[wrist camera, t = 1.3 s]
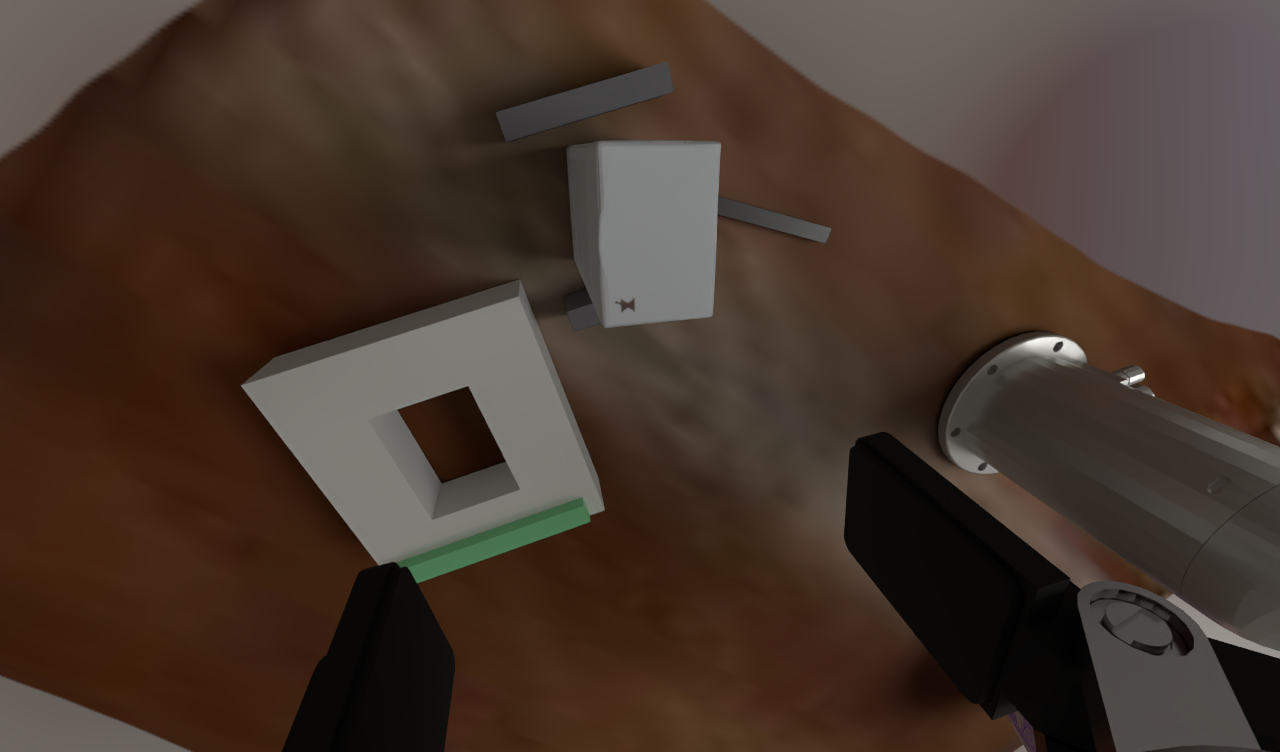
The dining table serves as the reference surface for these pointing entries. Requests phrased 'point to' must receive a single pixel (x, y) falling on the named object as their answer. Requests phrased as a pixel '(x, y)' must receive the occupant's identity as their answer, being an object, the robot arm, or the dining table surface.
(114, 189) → the dining table surface
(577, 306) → the dark grey bars
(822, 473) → the dining table surface
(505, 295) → the socket
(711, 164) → the skincare box
